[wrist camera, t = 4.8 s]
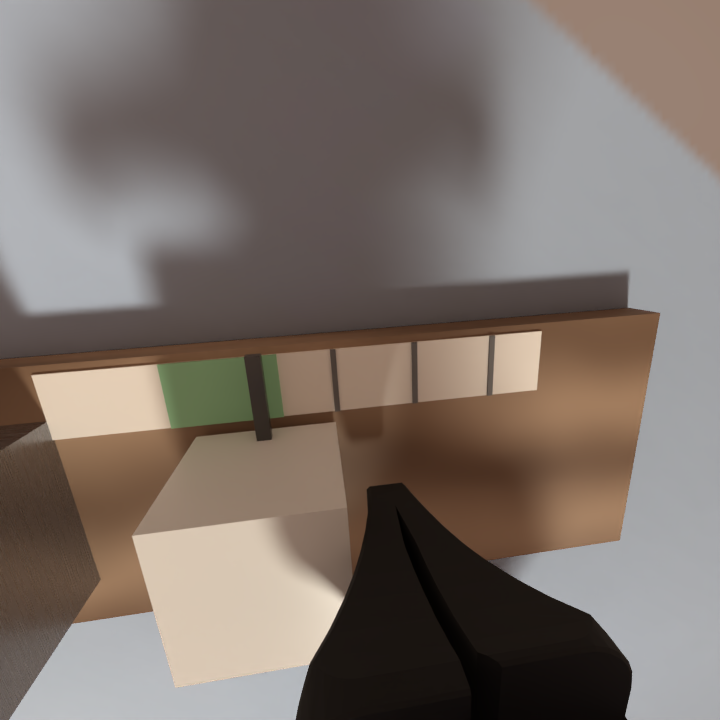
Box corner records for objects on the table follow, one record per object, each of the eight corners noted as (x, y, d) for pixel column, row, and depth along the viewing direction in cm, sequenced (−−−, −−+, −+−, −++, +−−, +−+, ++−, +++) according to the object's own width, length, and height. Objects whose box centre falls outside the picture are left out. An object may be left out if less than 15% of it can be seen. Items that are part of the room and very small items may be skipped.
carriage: (344, 532, 15) (358, 655, 10) (219, 550, 14) (175, 687, 10) (329, 343, 13) (338, 393, 8) (179, 356, 12) (97, 417, 8)
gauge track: (596, 518, 19) (735, 647, 13) (60, 596, 16) (-97, 807, 10) (628, 308, 16) (833, 341, 10) (-29, 361, 13) (-336, 456, 7)
